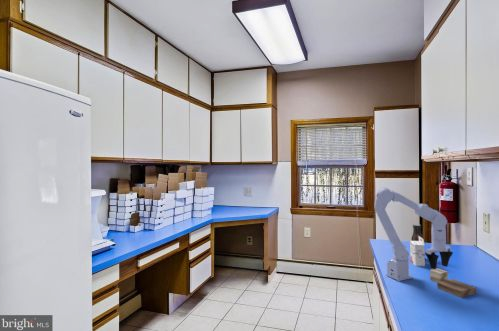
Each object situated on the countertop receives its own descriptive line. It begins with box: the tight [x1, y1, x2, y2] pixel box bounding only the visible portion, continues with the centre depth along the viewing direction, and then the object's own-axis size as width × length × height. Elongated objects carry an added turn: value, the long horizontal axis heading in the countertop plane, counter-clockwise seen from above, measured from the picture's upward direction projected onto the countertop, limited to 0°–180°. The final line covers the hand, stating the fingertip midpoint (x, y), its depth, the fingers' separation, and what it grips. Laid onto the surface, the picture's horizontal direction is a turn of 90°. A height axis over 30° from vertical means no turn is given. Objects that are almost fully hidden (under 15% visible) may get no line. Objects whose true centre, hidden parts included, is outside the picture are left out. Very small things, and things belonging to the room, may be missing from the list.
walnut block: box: [436, 278, 477, 299], centre depth 127 cm, size 10×10×3 cm
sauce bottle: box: [410, 223, 424, 241], centre depth 170 cm, size 6×6×20 cm
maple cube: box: [429, 267, 449, 284], centre depth 137 cm, size 5×5×5 cm
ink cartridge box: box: [409, 236, 426, 267], centre depth 161 cm, size 9×5×15 cm, turn 168°
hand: (439, 267), depth 137 cm, fingers open, 7 cm apart
